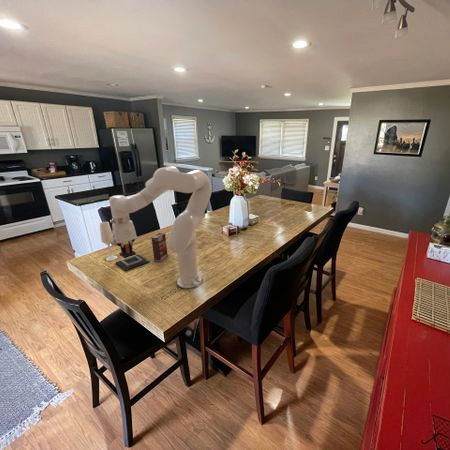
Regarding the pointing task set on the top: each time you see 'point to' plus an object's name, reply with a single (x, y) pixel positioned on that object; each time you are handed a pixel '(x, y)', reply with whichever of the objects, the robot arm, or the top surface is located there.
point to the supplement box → (159, 247)
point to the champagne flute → (107, 238)
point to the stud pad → (127, 251)
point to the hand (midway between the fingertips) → (127, 252)
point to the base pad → (131, 262)
